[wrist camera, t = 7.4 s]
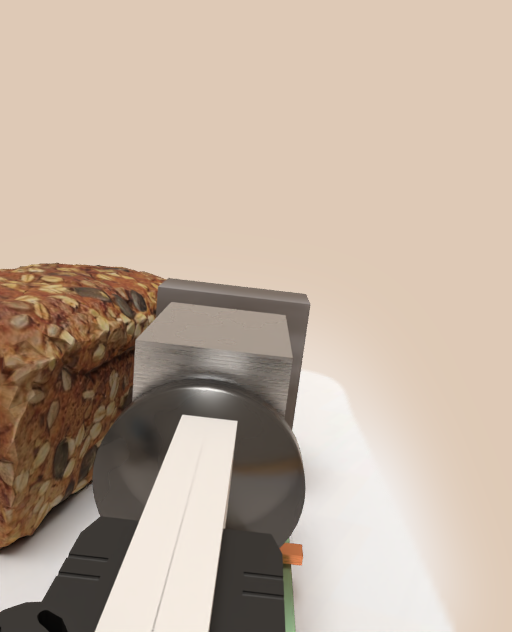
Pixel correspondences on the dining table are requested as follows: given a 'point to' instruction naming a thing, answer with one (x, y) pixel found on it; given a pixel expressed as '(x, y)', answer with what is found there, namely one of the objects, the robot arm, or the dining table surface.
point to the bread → (62, 378)
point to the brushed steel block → (210, 416)
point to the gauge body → (256, 301)
